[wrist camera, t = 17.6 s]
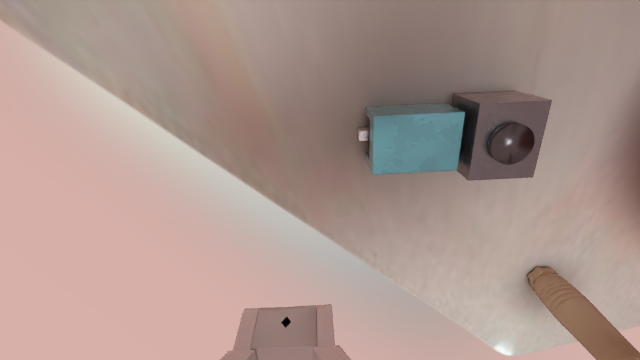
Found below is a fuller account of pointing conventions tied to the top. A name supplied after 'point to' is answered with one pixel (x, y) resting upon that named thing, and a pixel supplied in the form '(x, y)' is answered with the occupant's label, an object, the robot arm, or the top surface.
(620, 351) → the handle
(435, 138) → the teal storage bin
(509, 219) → the top surface
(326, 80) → the top surface
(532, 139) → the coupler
